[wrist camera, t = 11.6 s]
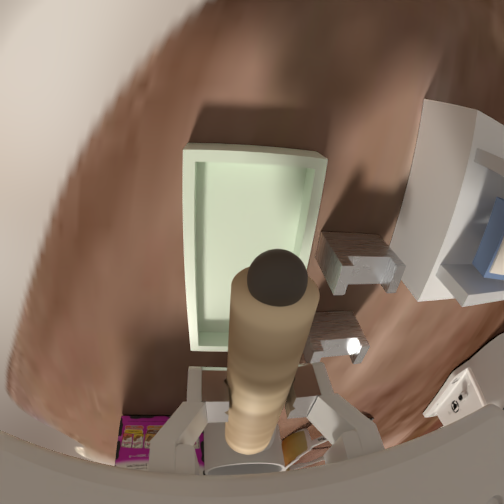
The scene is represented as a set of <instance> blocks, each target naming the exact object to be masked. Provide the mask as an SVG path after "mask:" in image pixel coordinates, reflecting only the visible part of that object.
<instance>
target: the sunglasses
mask: <svg viewBox="0 0 504 504" xmlns="http://www.w3.org/2000/svg"><path fill="white" fill-rule="evenodd" d="M369 419H370V420H371V421H372V420H373V419H374V418H369ZM325 441H328V440H327V439H326V438H325V437H324V435H323V436H321V437H319V438H317V439H314V440H311V437H310V434H309V432H308V429H306V428H305V429H301V430H299V431H297V432H295V433H293V434H291V435H290V436H288V437H286V438H285V439H284V440H282V441H281V445H282V451H283V457H284V462H285V470H284V471H289V470H295V469H298V468H301V467H304V466H307V465H310V464H313V463H316V462H319V461H321V460H325V459H324V456H322V457H319V458H317V459H315V460H313V461H310V462H307V463H298V464H296V465H292V464H293V463H295V462H296V461H297V460H299V459H300V457H301V456H302V455H304V454H305V453H307V452H308V451H310V450H311V449H312V448H313V447H314V446H316V445H319V444H321V443H323V442H325Z"/></svg>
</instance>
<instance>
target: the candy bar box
mask: <svg viewBox="0 0 504 504" xmlns="http://www.w3.org/2000/svg"><path fill="white" fill-rule="evenodd" d="M170 417H171V416H121V421H120V427H119V435H118V442H117V450H116V460H115V466H117V467H122V468H128V469H135V470H142V471H148V467H149V453H150V441H151V440H152V438H153V437H154V436H155V435H156V434H157V433H158V431H159V430H160V429H161V428H162V427H163V425H164V424H165V423H166V422H167V421H168V419H169V418H170ZM193 447H194V448H195V452H196V456H197V460H198V463H199V475H206V474H205V467H204V430H203V431H202V433H201V434H200V436H199V437H198V439H197V441H196V442H195V444H194V445H193Z"/></svg>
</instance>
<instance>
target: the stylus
mask: <svg viewBox="0 0 504 504" xmlns="http://www.w3.org/2000/svg"><path fill="white" fill-rule="evenodd" d="M319 298H320V294H319V290H318V287H317V285H316V284H315V282H314V281H313V280H312V279H311V278H310V277H309V276H308V274H307V270H306V267H305V265H304V263H303V262H302V260H301V259H300V258H299V257H298V256H297V255H295V254H294V253H292V252H290V251H288V250H284V249H271V250H267V251H265V252H263V253H261V254H260V255H258V256H257V257H256V258H255V259H254V260H253V262H252V263H251V265H250V267H247V268H245V269H243V270H241V271H240V272H238V273H237V274H236V275H235V277H234V278H233V280H232V283H231V296H230V316H229V337H228V360H227V385H228V389H229V410H228V413H229V417H228V422H225V439H226V442H227V444H228V445H229V446H230V447H231V448H232V449H233V450H234V451H236V452H238V453H241V454H246V455H251V454H256V453H259V452H261V451H263V450H264V449H265V448H266V447H267V446H268V444H269V442H270V440H271V437H272V435H273V433H274V430H275V428H276V425H277V422H278V420H279V417H280V415H281V412H282V410H283V407H284V404H285V402H286V399H287V396H288V394H289V391H290V388H291V385H292V382H293V380H294V377H295V374H296V371H297V368H298V365H299V362H300V359H301V356H302V353H303V350H304V347H305V344H306V341H307V338H308V335H309V332H310V328H311V325H312V322H313V319H314V315H315V312H316V309H317V305H318V302H319Z"/></svg>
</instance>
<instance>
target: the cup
mask: <svg viewBox="0 0 504 504" xmlns="http://www.w3.org/2000/svg"><path fill="white" fill-rule="evenodd" d="M204 467H205V474H206V475H247V474H261V473H272V472H281V471H284V470H285V462H284V457H283V451H282V445H281V439H280V433H279V427H278V422H277V425H276V428H275V430H274V433H273V435H272V437H271V440H270V442H269V444H268V446H267V447H266V448H265V449H264V450H263V451H261V452H259V453H256V454H251V455H246V454H241V453H238V452H236V451H234V450H233V449H232V448H231V447H230V446H229V445H228V444H227V442H226V439H225V422H210V423H207V425H206V427H205V428H204Z"/></svg>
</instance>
